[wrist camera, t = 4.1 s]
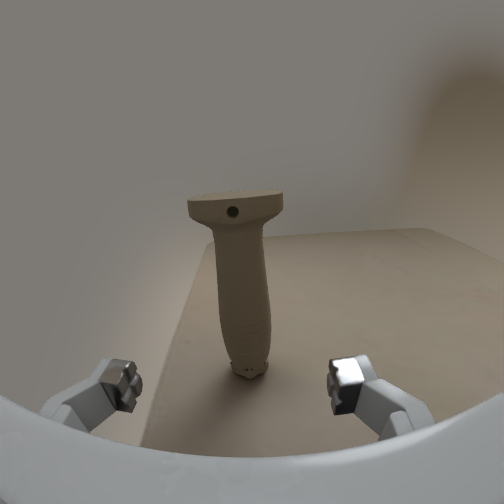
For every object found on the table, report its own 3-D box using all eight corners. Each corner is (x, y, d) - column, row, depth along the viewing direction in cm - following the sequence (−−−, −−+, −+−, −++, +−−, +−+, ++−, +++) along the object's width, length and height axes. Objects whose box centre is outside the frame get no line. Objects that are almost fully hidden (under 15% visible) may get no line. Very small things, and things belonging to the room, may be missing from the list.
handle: (288, 384, 20) (286, 195, 16) (211, 387, 21) (178, 203, 16) (284, 350, 25) (279, 188, 20) (217, 352, 25) (195, 194, 21)
